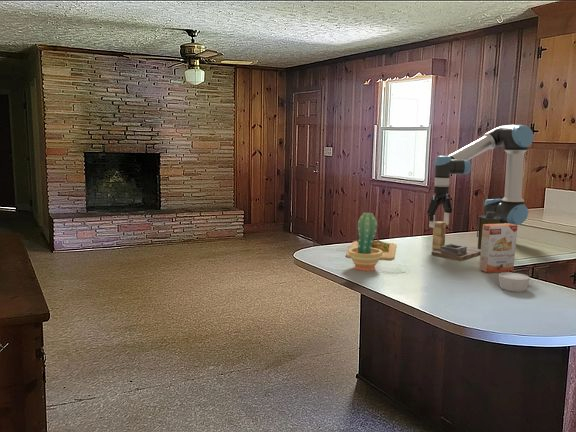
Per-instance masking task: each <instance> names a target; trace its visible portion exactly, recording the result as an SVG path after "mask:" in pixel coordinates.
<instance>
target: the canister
mask: <svg viewBox="0 0 576 432" xmlns="http://www.w3.org/2000/svg"><path fill="white" fill-rule="evenodd" d="M494 213H495V212H486V216H483V215H478V216H477V228H476V237H477V238H478V240H477V248H476V249H481V241H482V229H483V224H500V219H501V218H500V217H497V216H494ZM495 214H496V213H495Z"/></svg>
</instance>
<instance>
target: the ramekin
mask: <svg viewBox="0 0 576 432" xmlns="http://www.w3.org/2000/svg"><path fill="white" fill-rule="evenodd" d="M498 279H499V286H500V288H501V289H503V290H505V291H509V292H514V293H515V292H518V293H521V292H525V291H526V290H527V289H528V284H529V281H530V276H528V275H527V274H523V273H517V272H499V273H498Z"/></svg>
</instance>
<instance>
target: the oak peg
mask: <svg viewBox="0 0 576 432" xmlns="http://www.w3.org/2000/svg"><path fill="white" fill-rule="evenodd" d="M446 226H447V225H446V222H444V221H440V220H439V221H436V220H435V228H432V249H435V250H440V249H441V246H444V245H446V230H447V229H446Z"/></svg>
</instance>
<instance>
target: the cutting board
mask: <svg viewBox="0 0 576 432" xmlns="http://www.w3.org/2000/svg"><path fill="white" fill-rule="evenodd" d="M358 243H359V240H355V241H352V242H351V245H350V246H349V249H351V248H356V247H358ZM371 248H376V249H380V250H382V251H383V253H382V255H381V256H380V258H379V260H382V261H393V260H395V258H396V251H397V243H394V242H384V241H381V240H379V239H377V240H374V239H373V243H372V247H371ZM349 249H348V250H349ZM348 250H347V251H346V253H345V257H347V258H348V257H349V258H350V259H352V258H351V255H350V254H349V252H348Z"/></svg>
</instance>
